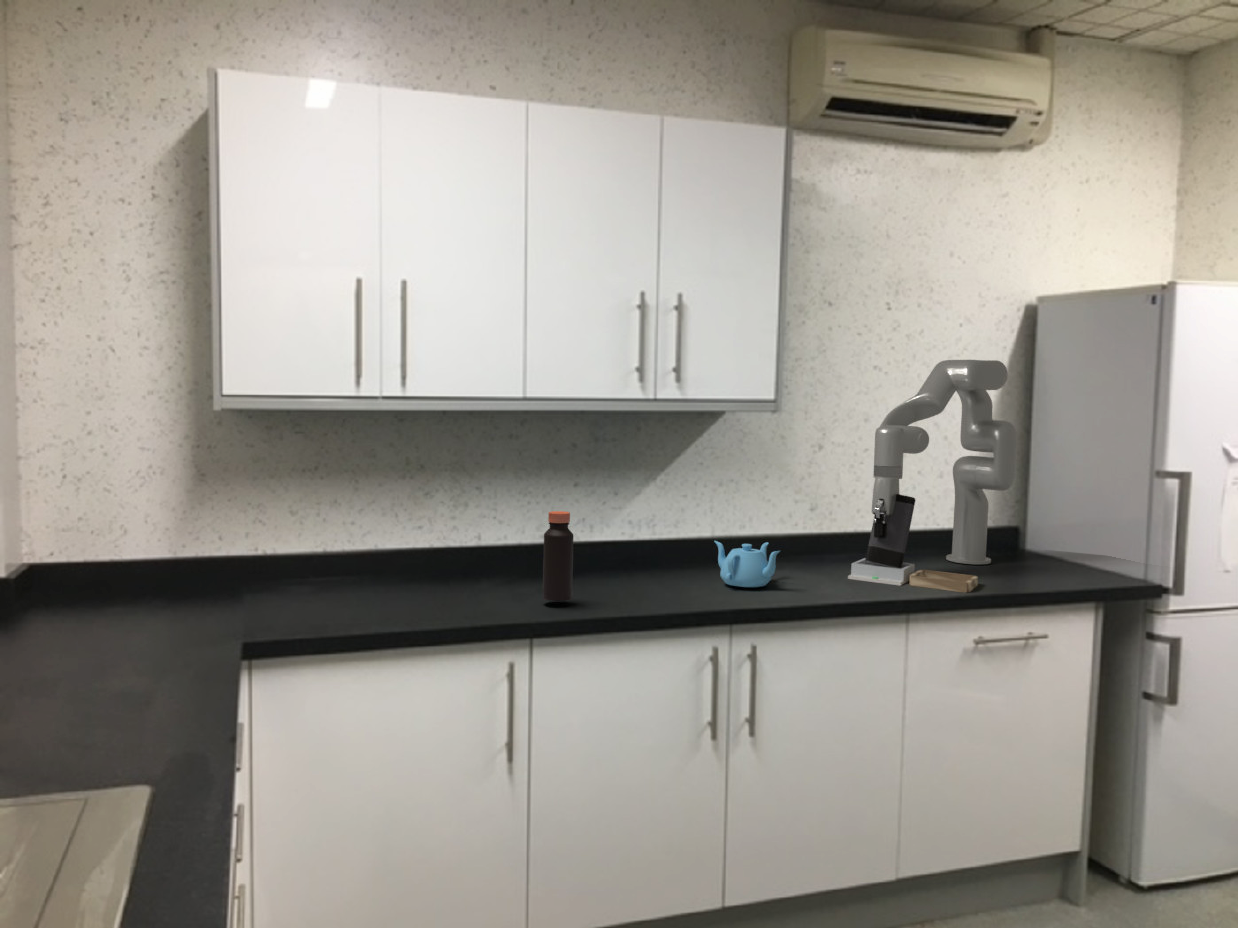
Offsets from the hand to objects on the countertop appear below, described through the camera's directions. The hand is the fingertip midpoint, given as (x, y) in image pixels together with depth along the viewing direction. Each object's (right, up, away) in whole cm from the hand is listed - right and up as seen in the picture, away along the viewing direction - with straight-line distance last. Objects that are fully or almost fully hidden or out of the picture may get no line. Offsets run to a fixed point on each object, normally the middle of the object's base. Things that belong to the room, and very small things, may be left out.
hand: (885, 535), depth 250 cm
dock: (-1, -12, +1) cm, 12 cm away
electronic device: (-1, -9, -1) cm, 9 cm away
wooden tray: (+13, -12, -8) cm, 20 cm away
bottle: (-86, -12, -36) cm, 95 cm away
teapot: (-39, -12, -12) cm, 42 cm away
